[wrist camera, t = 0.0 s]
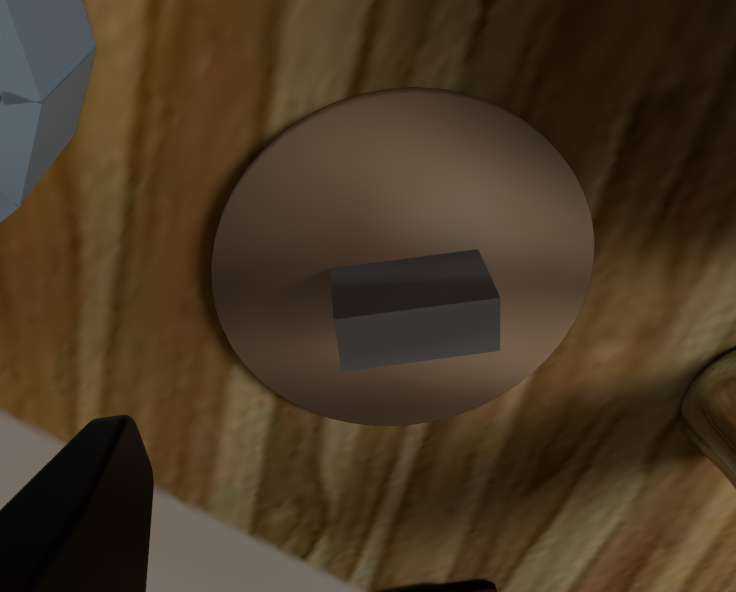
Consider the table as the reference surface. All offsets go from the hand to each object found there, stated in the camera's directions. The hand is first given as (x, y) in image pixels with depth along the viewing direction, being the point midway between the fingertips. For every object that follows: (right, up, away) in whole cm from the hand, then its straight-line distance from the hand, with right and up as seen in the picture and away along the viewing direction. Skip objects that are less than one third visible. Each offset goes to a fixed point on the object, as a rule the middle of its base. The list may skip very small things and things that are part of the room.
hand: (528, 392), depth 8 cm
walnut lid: (-1, +2, +17) cm, 17 cm away
